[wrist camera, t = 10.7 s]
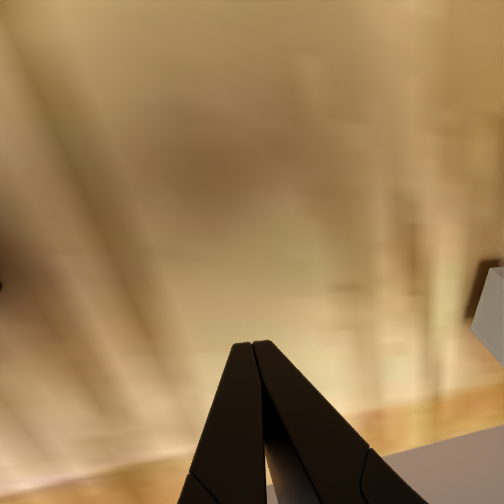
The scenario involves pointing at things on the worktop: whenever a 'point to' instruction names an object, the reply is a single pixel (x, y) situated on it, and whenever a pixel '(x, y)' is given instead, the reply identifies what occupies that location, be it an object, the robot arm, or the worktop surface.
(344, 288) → the worktop surface
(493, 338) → the light gray button
